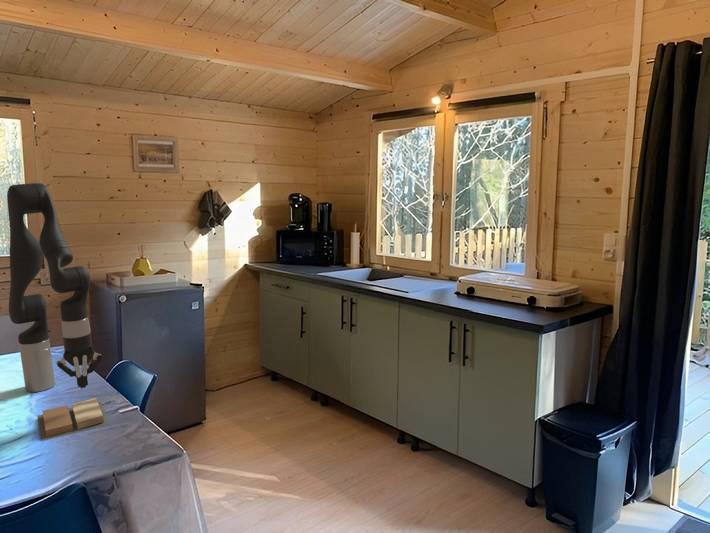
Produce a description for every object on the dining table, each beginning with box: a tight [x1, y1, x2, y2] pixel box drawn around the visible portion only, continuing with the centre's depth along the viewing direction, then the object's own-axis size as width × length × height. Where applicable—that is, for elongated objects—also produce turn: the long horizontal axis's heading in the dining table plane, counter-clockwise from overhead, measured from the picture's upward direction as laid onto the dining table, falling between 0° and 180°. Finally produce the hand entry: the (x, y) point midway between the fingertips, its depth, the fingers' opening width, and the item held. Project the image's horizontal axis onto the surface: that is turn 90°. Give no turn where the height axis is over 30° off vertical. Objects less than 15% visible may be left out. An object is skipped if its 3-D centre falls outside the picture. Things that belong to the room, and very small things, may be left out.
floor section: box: [37, 401, 111, 442], centre depth 168 cm, size 20×18×3 cm
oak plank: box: [71, 397, 104, 429], centre depth 170 cm, size 16×7×2 cm, turn 32°
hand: (82, 387), depth 171 cm, fingers closed
